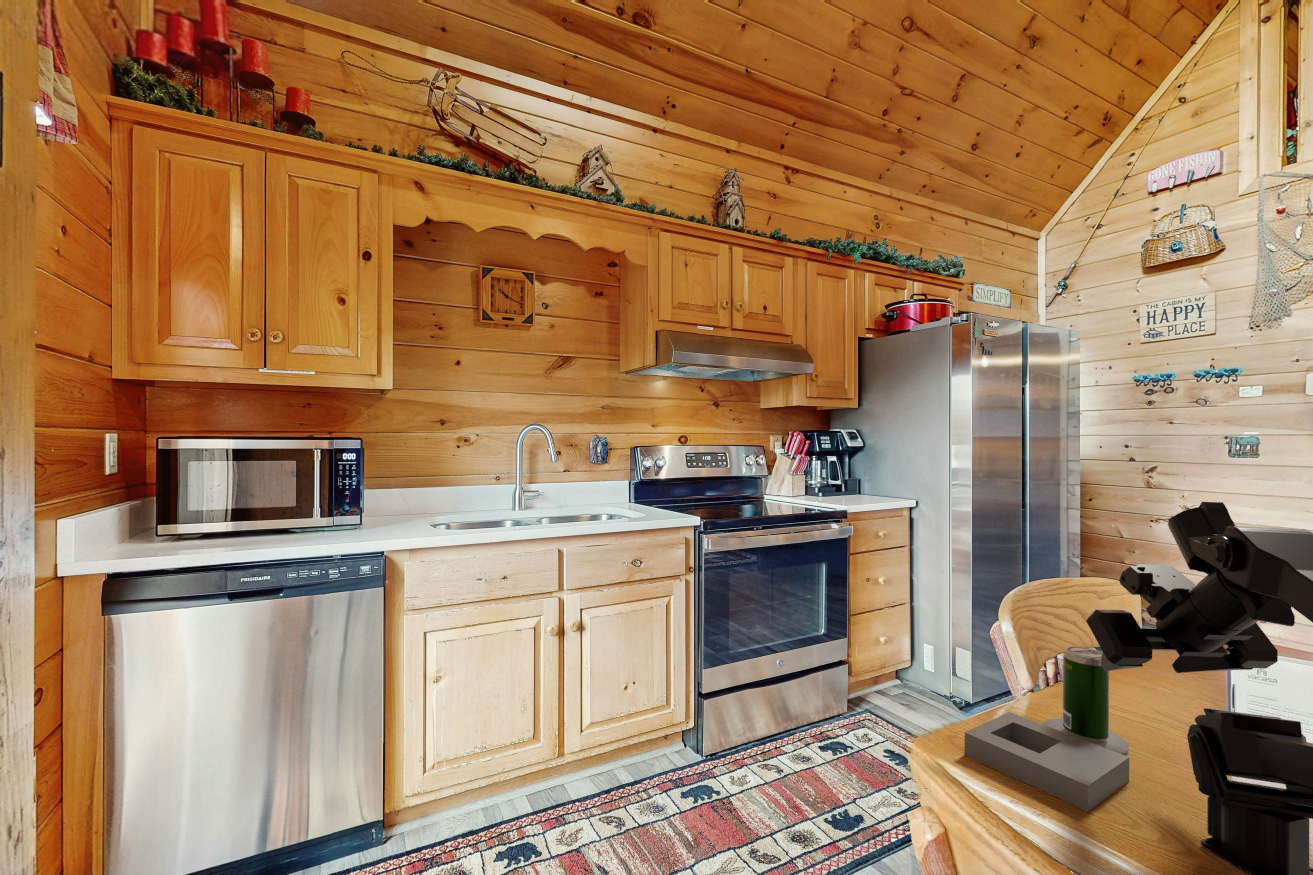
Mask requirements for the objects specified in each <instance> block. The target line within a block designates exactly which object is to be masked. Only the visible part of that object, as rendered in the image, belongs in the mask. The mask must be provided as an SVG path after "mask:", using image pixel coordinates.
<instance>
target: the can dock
mask: <svg viewBox="0 0 1313 875" xmlns="http://www.w3.org/2000/svg"><path fill="white" fill-rule="evenodd" d="M964 755H965V756H967V757H968V758H972V760H975V761H978V762H980V763H982V764H983V765H986V766H989V767H991V768H993V769H995V770H996V771H999V772H1001V773H1004V774H1006V775H1007V776H1010V777H1012V778H1015V779H1017V780H1018V781H1021V782H1023V783H1026V784H1027V785H1030V786H1032V787H1034V788H1036V789H1038V790H1040V791H1043V792H1044V793H1047V794H1049V795H1052V796H1053V797H1056V798H1058V799H1059V800H1062V801H1064V802H1066V803H1068V804H1071V805H1072V806H1075V807H1076V808H1079V809H1082V810H1083V811H1086V812H1089V811H1091V810H1092V809H1094V808H1095V807H1096V806H1098V805H1099V804H1100V803H1102V802H1103V801H1105V800H1106V799H1107V798H1108V797H1109V796H1112V794H1113V793H1115V792H1117V791H1118V790H1119V789H1120V788H1122V787H1123V786H1125V785H1126V784H1127V783H1128V782H1130V756H1127V755H1122V754H1120V753H1117V752H1114V751H1112V750H1109V749H1106V748H1104V747H1101V746H1098V745H1096V744H1093V743H1090V742H1088V741H1085V740H1082V739H1080V738H1077V737H1074V736H1072V735H1069V734H1066V733H1064V732H1061V731H1058V730H1056V729H1053V728H1050V727H1048V726H1045V725H1043V724H1042V723H1039V722H1037V721H1034V720H1032V719H1029V718H1026V717H1023V716H1021V715H1018V714H1016V713H1012V712H1010V711H1009V712H1006V713H1003V714H1001V715H999V716H998V717H995V718H994V719H991V720H989V721H987V722H984V723H982V724H980V725H978V726H976V727H974V728H971V729H969V730H967V731H965V732H964Z"/></svg>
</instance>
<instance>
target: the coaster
mask: <svg viewBox="0 0 1313 875" xmlns="http://www.w3.org/2000/svg"><path fill="white" fill-rule="evenodd" d="M1042 725H1045V726H1048V727H1050V728H1053V729H1056V730H1058V731H1061V732H1064V733H1066V731H1065V729H1064V726H1063V718H1051V719H1050V718H1049V719H1047V720H1045V721H1044V722H1043V724H1042ZM1066 734H1067V733H1066ZM1093 744H1096V745H1098V746H1101V747H1104V748H1106V749H1109V750H1112V751H1114V752H1117V753H1120V754H1122V755H1125V756H1127V755H1128V753H1129V750H1130V749H1129V744H1128V742H1127V740H1126V739H1125V738H1124V737H1122V736H1121V735H1119V734H1117V733H1115V732H1113V731H1112V730H1109V736H1108V738H1107V740H1106V742H1104V743H1099V744H1097V743H1093Z"/></svg>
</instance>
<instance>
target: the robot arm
mask: <svg viewBox="0 0 1313 875" xmlns="http://www.w3.org/2000/svg"><path fill="white" fill-rule="evenodd" d="M1167 526H1168V529H1169V530H1170V533H1171V534H1172V537H1173V539H1174V541H1175V543H1176V545H1177V547H1178V549H1179V551H1180V553H1181V556H1182V557H1183V559H1184V562H1185V563H1186V565H1187V567H1188V569H1189V570H1190V571H1195V572H1200V573H1204V574H1206V576H1204V577H1203V578H1202V579H1201V580H1199V581H1198V582H1197V583H1196V584H1195V583H1194V582H1193V581H1192V580H1190V579H1189V578H1188V577H1187V576H1185V575H1184V574H1183V573H1181V572H1180V571H1179V570H1178V569H1176V568H1175V567H1172V566H1170V565H1166V564H1137V565H1130V566H1129V567H1127V568H1126V569H1125V570H1123V571H1122V572H1121V574H1120V577H1119V580H1118V581H1119V583H1120V585H1121V586H1122V587H1123V588H1124V589H1125V590H1126V591H1127V592H1128V593H1129V594H1130V595H1132V596H1140V597H1141V598H1142V599H1143V600H1145V602H1147V603H1148V604H1149V605H1148V606H1147V607H1146V608H1145V610H1146V612H1147V613H1148V615H1149V616H1150V618H1151V619H1155V620H1156V621H1155V628H1141V626H1140V625H1139V623H1138V621H1137V619H1136V618H1135V617H1134V615H1133V614H1132V612H1130V611H1126V610H1124V609H1095V610H1093V611H1092V613H1091V614H1090V615H1088V617H1087V618H1086V620H1085V622H1086V624H1087V625H1088V628H1089V630H1090V631H1091V633H1092V635H1093V636H1094V638H1095V640H1096V641H1097V643H1098V645H1099V648H1100V649H1101V652H1102V658H1101V666H1102V668H1103V669H1104V671H1109V672H1114V671H1121V670H1129V669H1136V668H1137V669H1138V668H1142V667H1143V666H1144V665H1143V664H1146V663H1149V662H1150V661H1151V660H1152V659H1153V651H1161V652H1162V651H1167V652H1171V651H1172V652H1176V653H1177V654H1178V656H1177V658H1176V659H1175V660H1174V661H1173V663H1171V667H1172V668H1173V670H1174V672H1175V673H1177V674H1185V673H1186V674H1188V673H1203V672H1223V671H1224V672H1226V671H1243V670H1245V671H1246V670H1247V671H1249V670H1253V669H1268V668H1270V667H1271V666H1274V665H1275V664H1276V663H1278V661H1279V660H1278V658H1279V656H1278V654H1279V650H1278V649H1277V648H1276V646H1275V645H1274V644H1273V642H1272V641H1271V640H1270V638H1268V636H1267V634H1265V632H1264V631H1263V630H1262V628H1261V627H1260V626H1259V625H1258V623H1257V622H1264V623H1270V624H1274V625H1281V626H1286V627H1293V626H1295V623H1296V618H1295V617H1296V616H1295V613H1294V612H1293V609H1294V610H1295V611H1297V613H1300V614H1301V615H1302V616H1303V617H1305V618H1306V619H1307V620H1309V621H1310V622H1311V623H1313V532H1312V531H1310V530H1307V529H1302V528H1284V527H1283V528H1280V527H1262V526H1239V525H1237V526H1236V524H1235V522H1234V520H1233V518H1232V517H1231V515H1230V512H1229V509H1228V508H1227V506H1226V504H1225V503H1224V502H1222V501H1201V502H1200V504H1199V506H1197V507H1192V508H1189V509H1185V510H1182V511H1180V512H1178V513H1177V514H1175V515H1172V516H1170V518H1169V520H1168V522H1167ZM1203 712H1204V714H1198V715H1197V716H1195V718H1194V722H1195V723H1196V724H1193V723H1192V724H1190V725H1189V727H1188V732H1187V735H1186V738H1187V742H1188V748H1189V754H1190V755H1189V756H1190V759H1191V765H1192V770H1193V775H1194V779H1195V782H1196V783H1198V791H1199V792H1200V793H1201V794H1203V795H1205V796H1207V797H1206V798H1207V799H1206V801H1207V804H1206V805H1207V808H1206V809H1207V816H1206V818H1207V819H1206V821H1207V822H1206V823H1207V824H1206V825H1207V827H1206V828H1207V835H1208V836H1209V837H1207V838H1202V839H1200V843H1201V844H1200V845H1201V846H1202V847H1203V848H1205V849H1206V850H1208V851H1209V852H1212V853H1214V854H1215V855H1217V856H1219V857H1220V858H1222V859H1224V860H1225V861H1228V862H1229V863H1231V864H1233V865H1234V866H1236V867H1238V868H1240V869H1242V871H1245V872H1246V873H1247V874H1250V875H1313V867H1312V866H1310V820H1313V743H1311V742H1307V736H1305V735H1304V734H1303V733H1302V724H1301V723H1302V722H1301V721H1298V720H1290V719H1282V718H1281V717H1278V716H1270V715H1269V716H1268V715H1260V714H1253V713H1246V712H1244V713H1243V712H1237V711H1229V710H1222V709H1221V710H1220V709H1214V708H1213V709H1212V708H1203ZM1227 776H1229V777H1234V778H1235V777H1236V778H1241V779H1247V780H1252V781H1254V780H1256V781H1261V782H1268V783H1274V784H1281V785H1285V787H1286V788H1281V787H1276V786H1275V787H1274V786H1269V785H1263V784H1257V783H1256V784H1255V783H1249V782H1244V781H1238V780H1237V781H1236V780H1231V779H1230V780H1229V778H1228V777H1227Z"/></svg>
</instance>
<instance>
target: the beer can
mask: <svg viewBox="0 0 1313 875" xmlns="http://www.w3.org/2000/svg"><path fill="white" fill-rule="evenodd" d="M1064 650H1065V652H1064V654H1063V657H1062V658H1063V659H1062V662H1063V664H1062V668H1063V669H1062V719H1063V726H1064V729H1065V731H1066V733H1067V734H1069V735H1072V736H1074V737H1077V738H1080V739H1082V740H1085V741H1088V742H1090V743H1097V744H1099V743H1104V742H1106V740H1107V738H1108V736H1109V731H1110V727H1109V726H1110V671H1104V669H1103V668H1102V666H1101V658H1102V653H1103V651H1099V650H1096V649H1093V648H1090V647H1089V648H1087V647H1083V646H1067V647H1065V648H1064Z"/></svg>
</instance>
